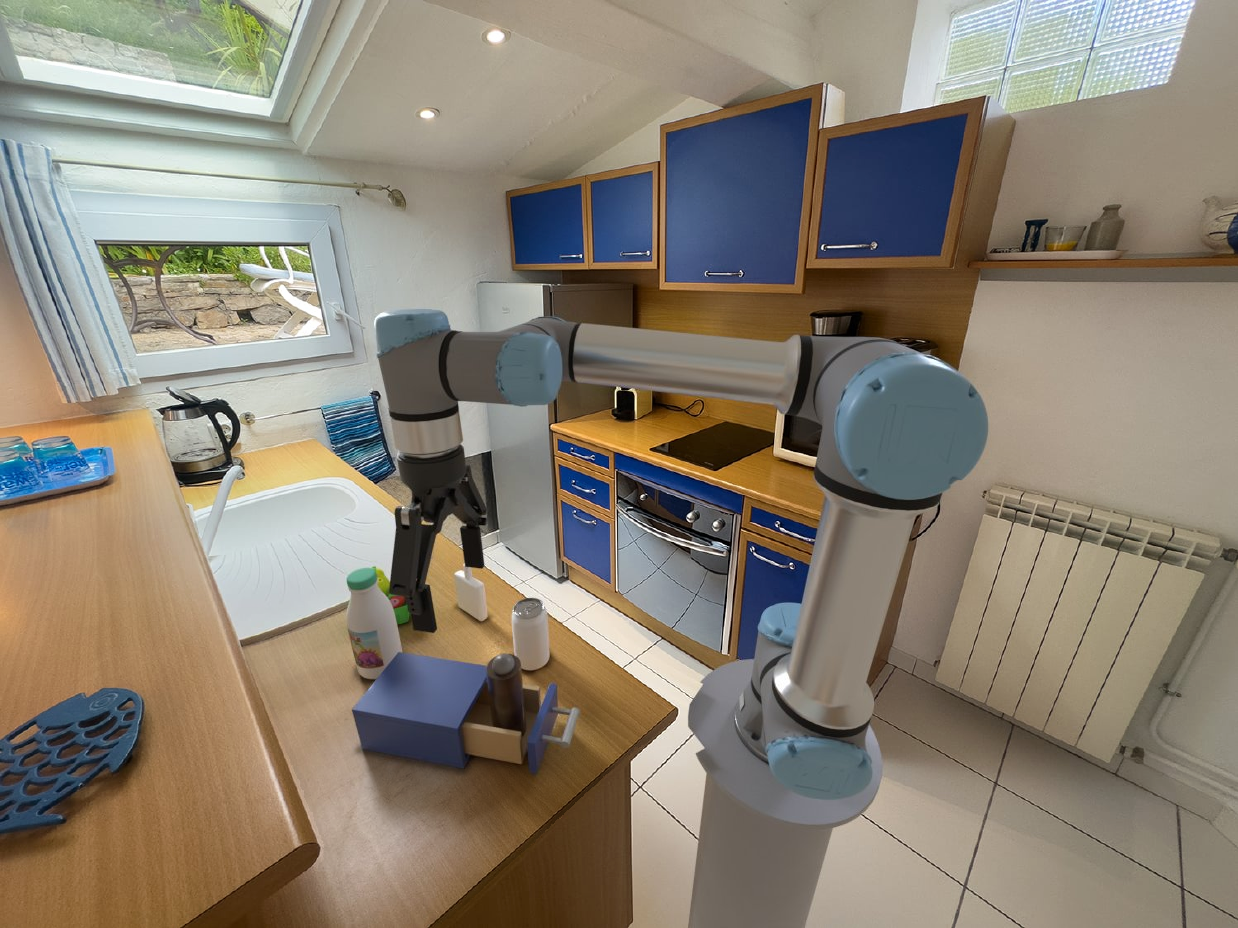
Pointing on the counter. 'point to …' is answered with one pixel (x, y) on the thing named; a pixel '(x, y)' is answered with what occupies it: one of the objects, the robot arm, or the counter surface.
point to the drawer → (510, 743)
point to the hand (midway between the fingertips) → (452, 595)
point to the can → (530, 633)
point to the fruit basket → (392, 598)
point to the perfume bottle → (470, 594)
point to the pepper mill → (506, 693)
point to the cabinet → (420, 708)
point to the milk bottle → (371, 624)
